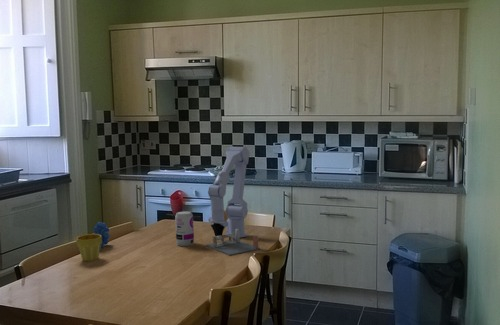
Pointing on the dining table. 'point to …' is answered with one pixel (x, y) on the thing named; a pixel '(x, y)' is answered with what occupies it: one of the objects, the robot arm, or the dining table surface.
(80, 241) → the plant pot
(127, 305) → the dining table surface
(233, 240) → the gate
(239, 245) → the gate frame
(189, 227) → the supplement can
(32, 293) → the dining table surface
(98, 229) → the grapes
